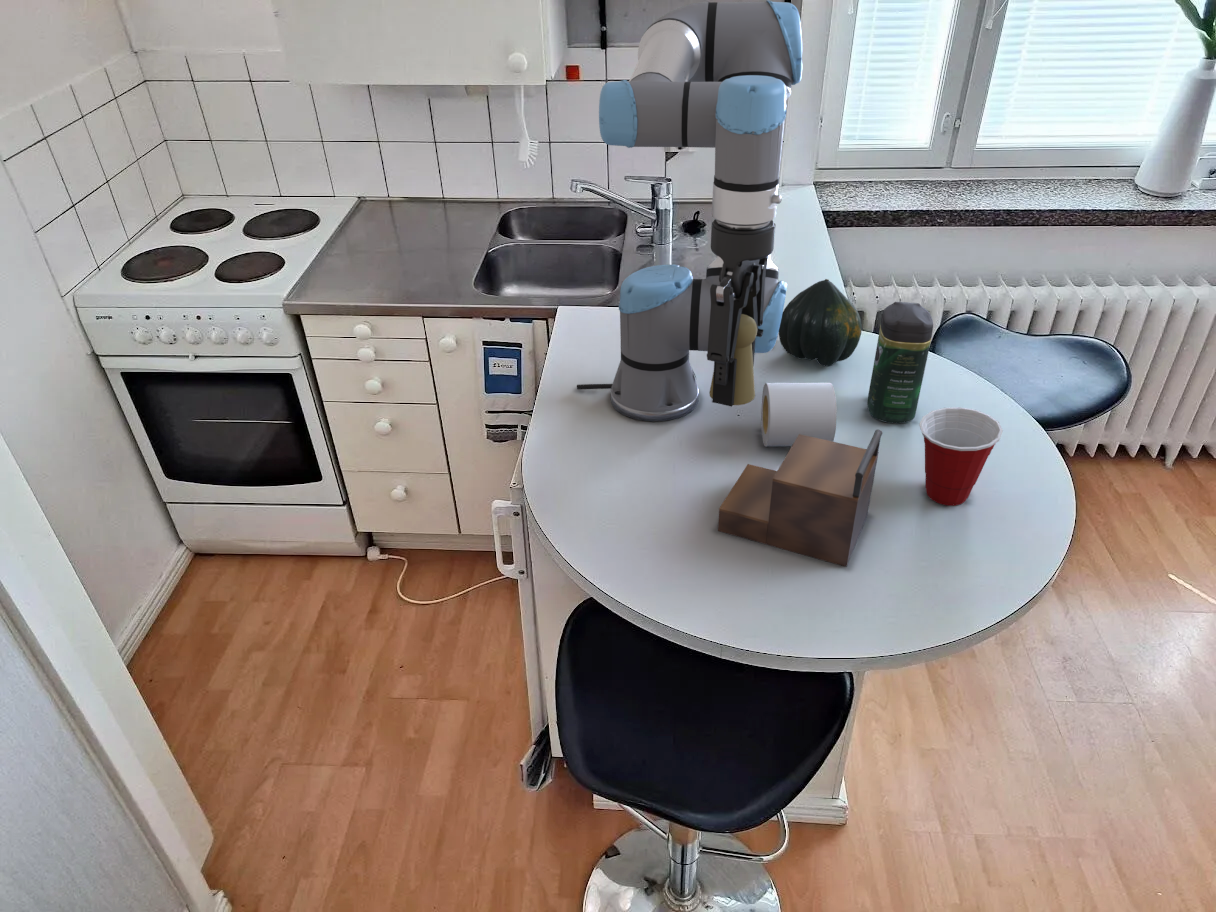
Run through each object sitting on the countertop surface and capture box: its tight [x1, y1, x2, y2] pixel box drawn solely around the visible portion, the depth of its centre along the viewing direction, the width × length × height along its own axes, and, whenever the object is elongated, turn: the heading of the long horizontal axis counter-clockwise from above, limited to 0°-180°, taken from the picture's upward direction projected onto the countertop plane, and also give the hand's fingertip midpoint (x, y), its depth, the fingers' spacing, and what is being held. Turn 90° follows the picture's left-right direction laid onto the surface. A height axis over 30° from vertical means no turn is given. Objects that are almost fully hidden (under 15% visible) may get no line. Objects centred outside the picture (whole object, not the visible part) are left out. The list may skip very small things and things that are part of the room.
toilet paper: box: [760, 382, 838, 447], centre depth 137 cm, size 10×10×10 cm
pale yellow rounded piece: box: [709, 314, 757, 406], centre depth 112 cm, size 6×6×11 cm
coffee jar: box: [866, 301, 934, 424], centre depth 142 cm, size 10×8×19 cm
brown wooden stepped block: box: [717, 429, 883, 568], centre depth 118 cm, size 18×12×15 cm, turn 63°
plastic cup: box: [918, 406, 1004, 507], centre depth 124 cm, size 11×11×12 cm
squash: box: [778, 278, 863, 367], centre depth 162 cm, size 14×15×15 cm
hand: (732, 391), depth 115 cm, fingers closed on pale yellow rounded piece, 6 cm apart
